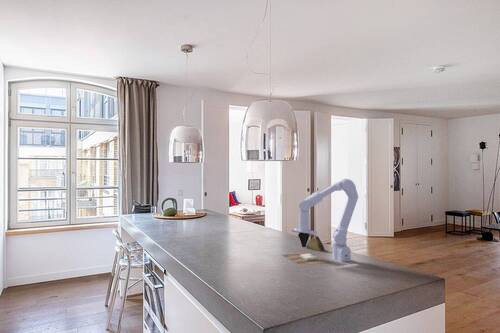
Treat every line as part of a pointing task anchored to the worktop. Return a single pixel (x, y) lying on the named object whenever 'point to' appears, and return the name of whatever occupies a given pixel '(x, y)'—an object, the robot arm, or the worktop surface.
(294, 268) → the worktop surface
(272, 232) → the worktop surface
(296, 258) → the board
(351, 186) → the robot arm
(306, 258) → the tile
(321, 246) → the rock
